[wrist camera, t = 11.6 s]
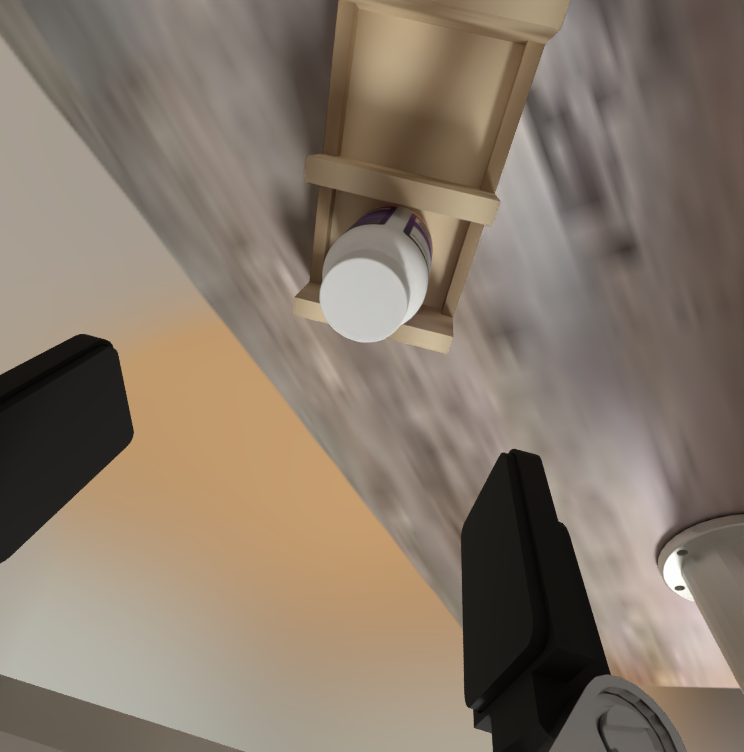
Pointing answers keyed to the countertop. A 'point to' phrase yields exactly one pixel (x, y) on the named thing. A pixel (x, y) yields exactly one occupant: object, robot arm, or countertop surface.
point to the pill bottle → (376, 274)
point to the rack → (424, 131)
